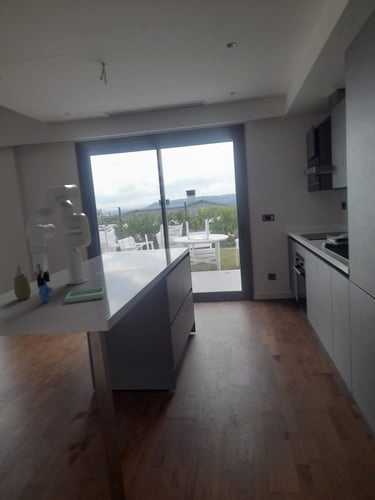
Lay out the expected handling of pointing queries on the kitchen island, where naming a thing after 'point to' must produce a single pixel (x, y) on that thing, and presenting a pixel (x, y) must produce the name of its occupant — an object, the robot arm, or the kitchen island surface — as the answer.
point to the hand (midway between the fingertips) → (44, 283)
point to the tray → (85, 295)
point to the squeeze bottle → (21, 285)
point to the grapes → (44, 292)
